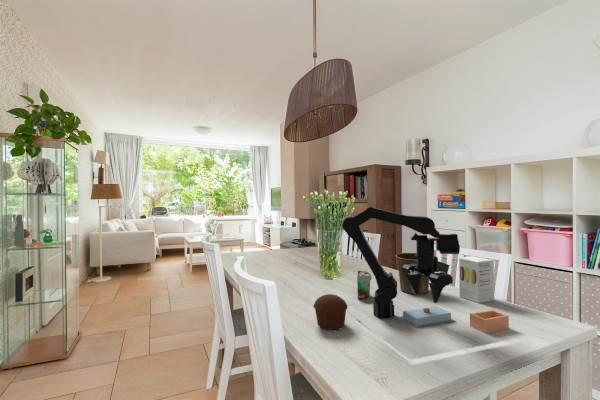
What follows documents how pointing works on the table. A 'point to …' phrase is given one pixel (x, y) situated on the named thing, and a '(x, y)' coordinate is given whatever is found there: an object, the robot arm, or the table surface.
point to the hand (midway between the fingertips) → (425, 298)
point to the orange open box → (489, 321)
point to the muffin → (330, 312)
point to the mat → (428, 324)
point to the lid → (426, 315)
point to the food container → (363, 284)
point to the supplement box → (476, 279)
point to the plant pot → (404, 282)
